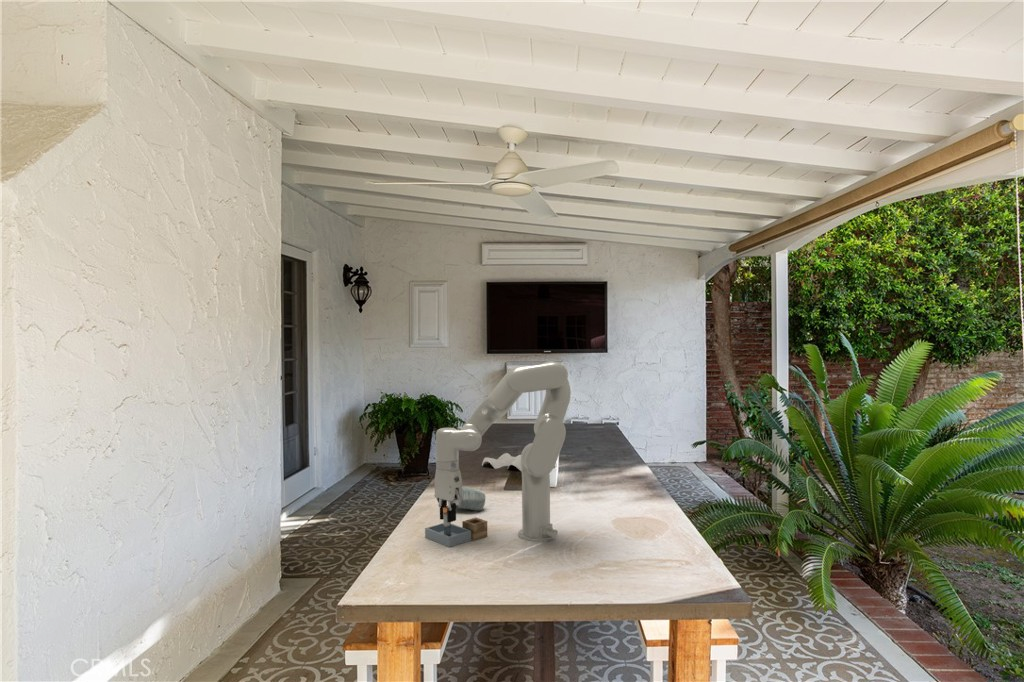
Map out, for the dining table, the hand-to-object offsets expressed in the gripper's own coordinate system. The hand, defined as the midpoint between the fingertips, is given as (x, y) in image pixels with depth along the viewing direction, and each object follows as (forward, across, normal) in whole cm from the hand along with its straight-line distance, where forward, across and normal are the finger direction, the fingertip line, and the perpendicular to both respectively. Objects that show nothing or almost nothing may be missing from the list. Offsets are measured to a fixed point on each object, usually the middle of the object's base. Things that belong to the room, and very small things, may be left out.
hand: (447, 519), depth 189 cm
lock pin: (+6, 0, 0) cm, 6 cm away
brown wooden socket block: (+6, -4, -8) cm, 11 cm away
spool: (+7, +21, -23) cm, 32 cm away
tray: (+6, 0, 0) cm, 6 cm away
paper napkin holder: (+7, +57, -83) cm, 101 cm away
